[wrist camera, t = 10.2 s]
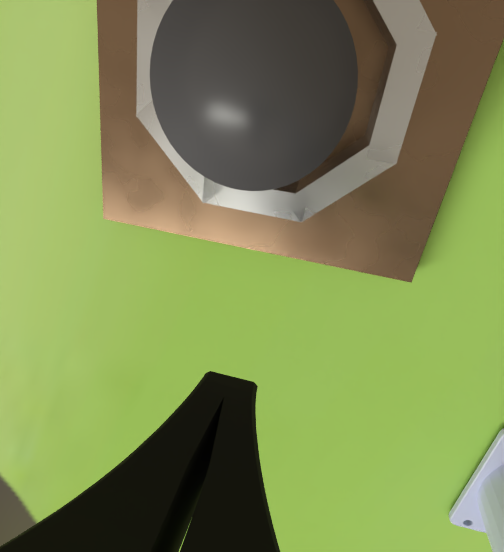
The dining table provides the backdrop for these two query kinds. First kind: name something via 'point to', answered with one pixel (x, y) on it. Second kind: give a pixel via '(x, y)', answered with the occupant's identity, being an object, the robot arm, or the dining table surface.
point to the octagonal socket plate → (344, 158)
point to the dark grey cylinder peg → (253, 87)
